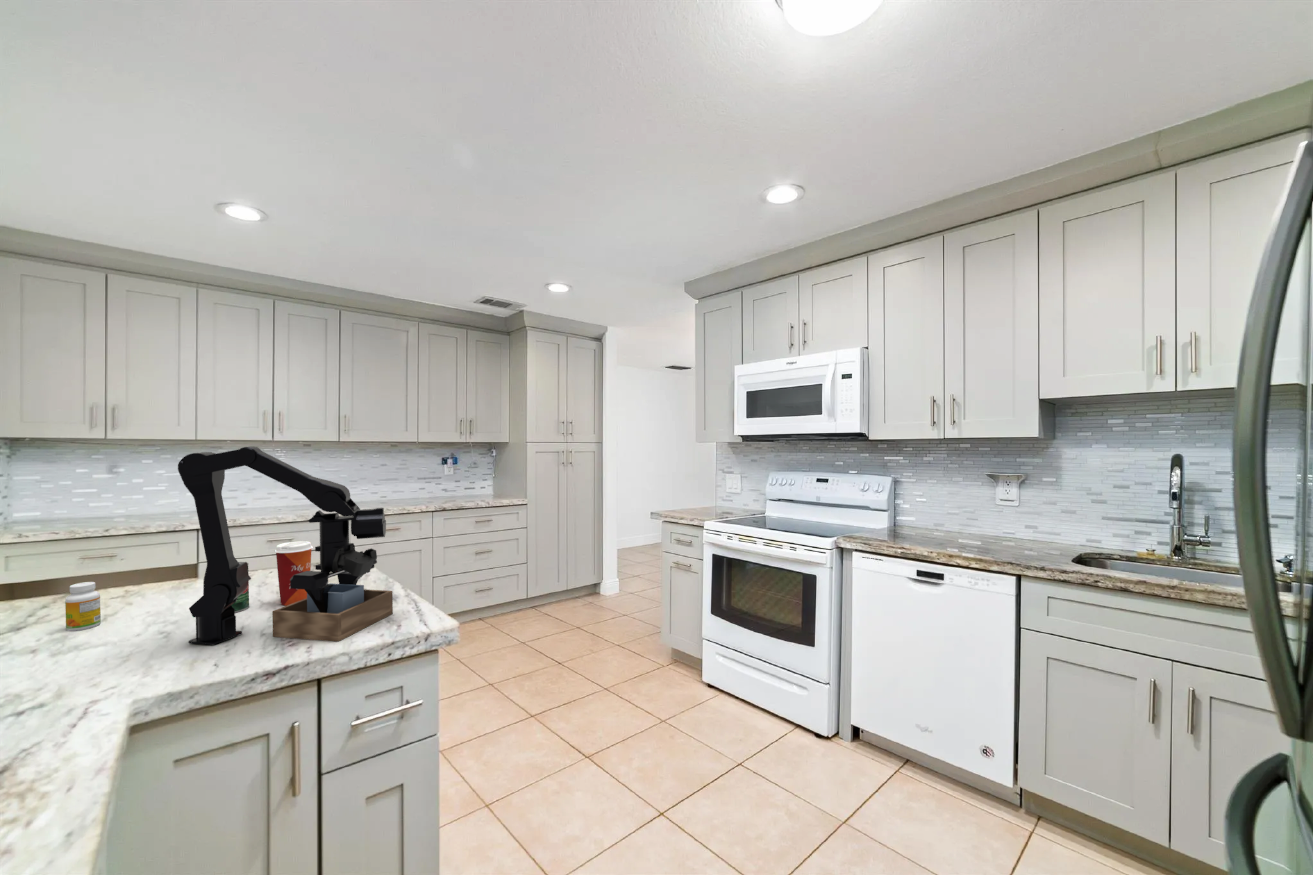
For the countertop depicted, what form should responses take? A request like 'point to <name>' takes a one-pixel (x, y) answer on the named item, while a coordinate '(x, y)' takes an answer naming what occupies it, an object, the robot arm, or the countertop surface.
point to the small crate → (340, 598)
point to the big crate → (331, 618)
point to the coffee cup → (292, 568)
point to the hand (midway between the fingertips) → (335, 609)
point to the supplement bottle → (82, 607)
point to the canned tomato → (242, 599)
